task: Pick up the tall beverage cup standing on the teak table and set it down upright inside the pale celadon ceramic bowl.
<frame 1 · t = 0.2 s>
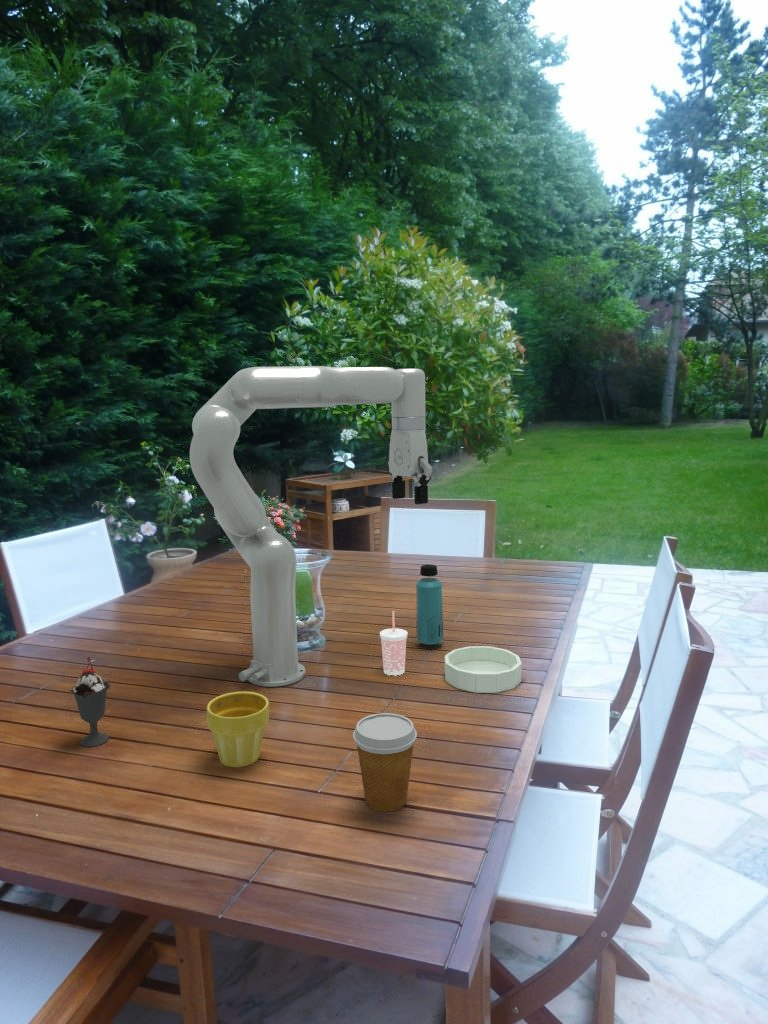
hand: (409, 500, 161), 36 cm above the table, tool pointing down, fingers open, 9 cm apart
beverage bottle: (429, 646, 172), on the table
sundae: (94, 741, 128), on the table
bowl: (482, 677, 153), on the table
beverage cup: (394, 672, 157), on the table
disposable coffee cup: (386, 801, 108), on the table
plant pot: (240, 758, 121), on the table
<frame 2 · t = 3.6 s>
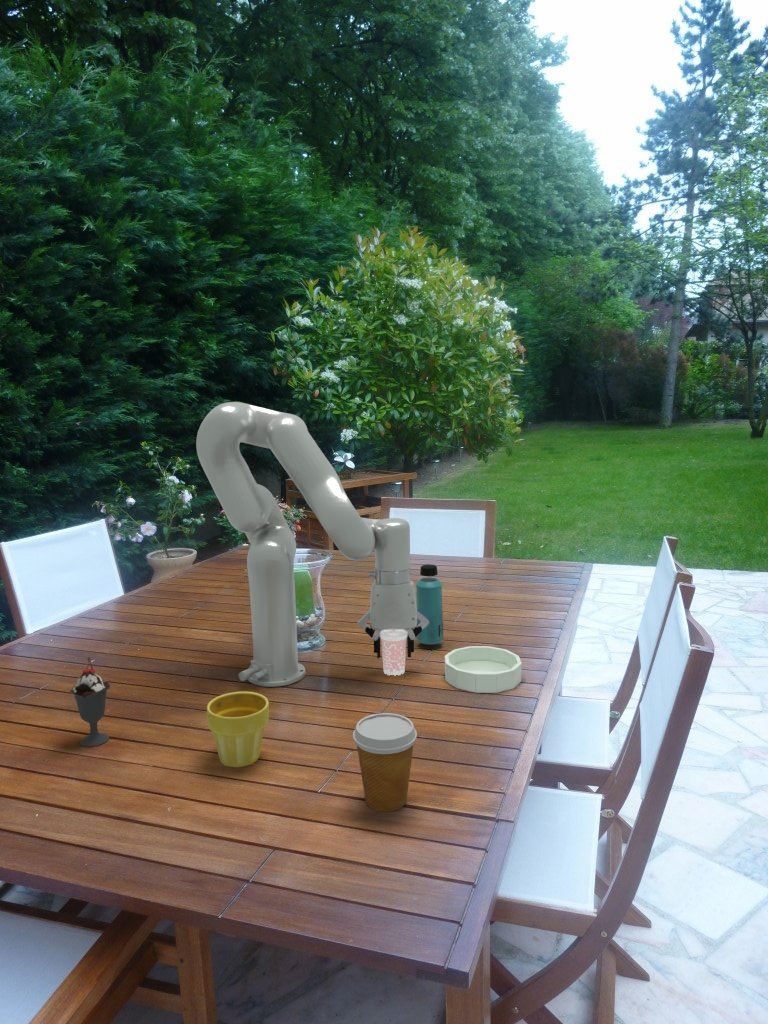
hand: (393, 654, 156), 4 cm above the table, tool pointing down, fingers closed on beverage cup, 6 cm apart
beverage cup: (394, 672, 157), on the table, touching gripper
everything else where it was.
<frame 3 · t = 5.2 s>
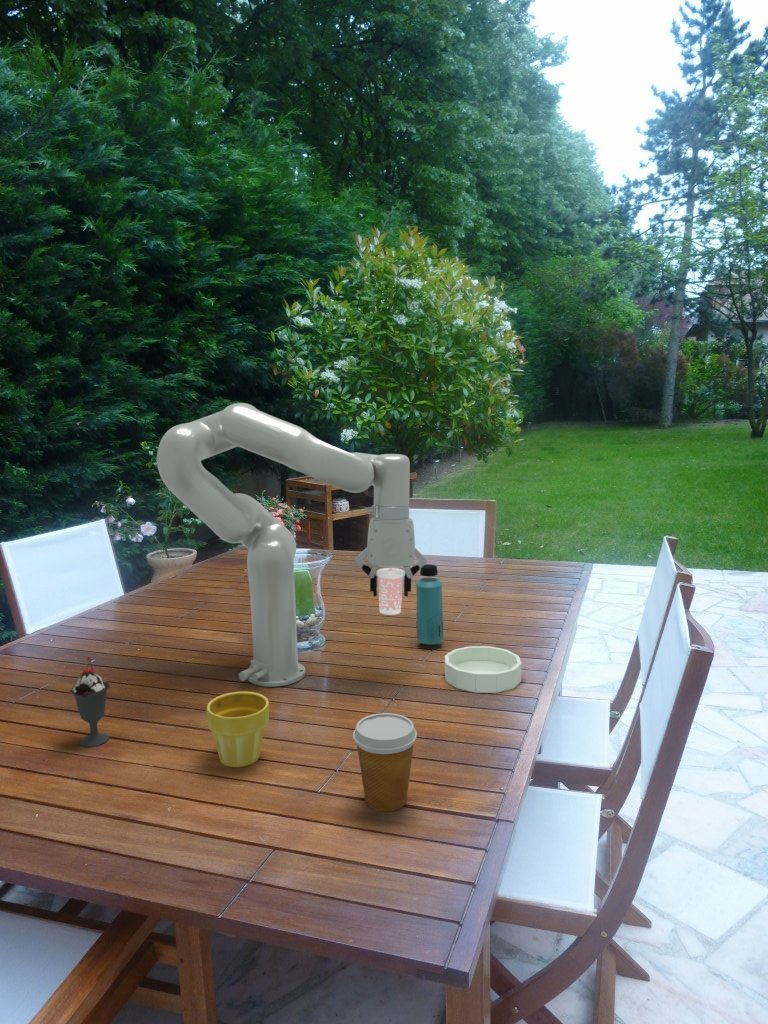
hand: (390, 593, 154), 18 cm above the table, tool pointing down, fingers closed on beverage cup, 6 cm apart
beverage cup: (390, 612, 154), point 14 cm above the table, touching gripper
everything else where it was.
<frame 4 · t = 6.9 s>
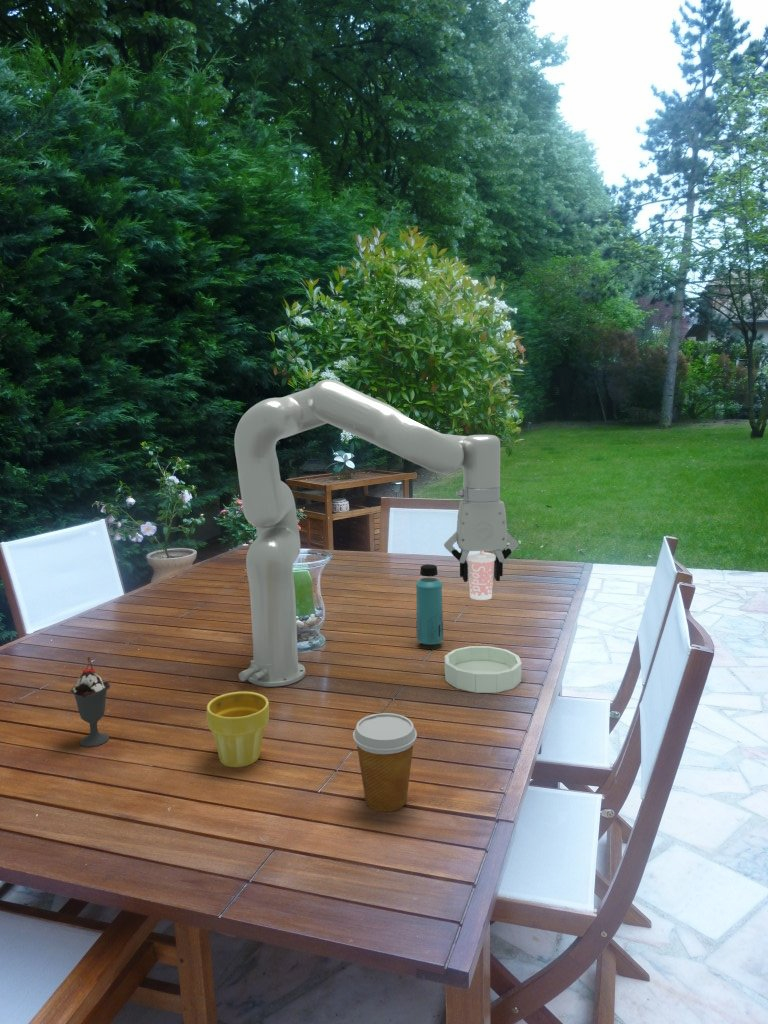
hand: (481, 579, 149), 22 cm above the table, tool pointing down, fingers closed on beverage cup, 6 cm apart
beverage cup: (480, 597, 150), point 18 cm above the table, touching gripper
everything else where it was.
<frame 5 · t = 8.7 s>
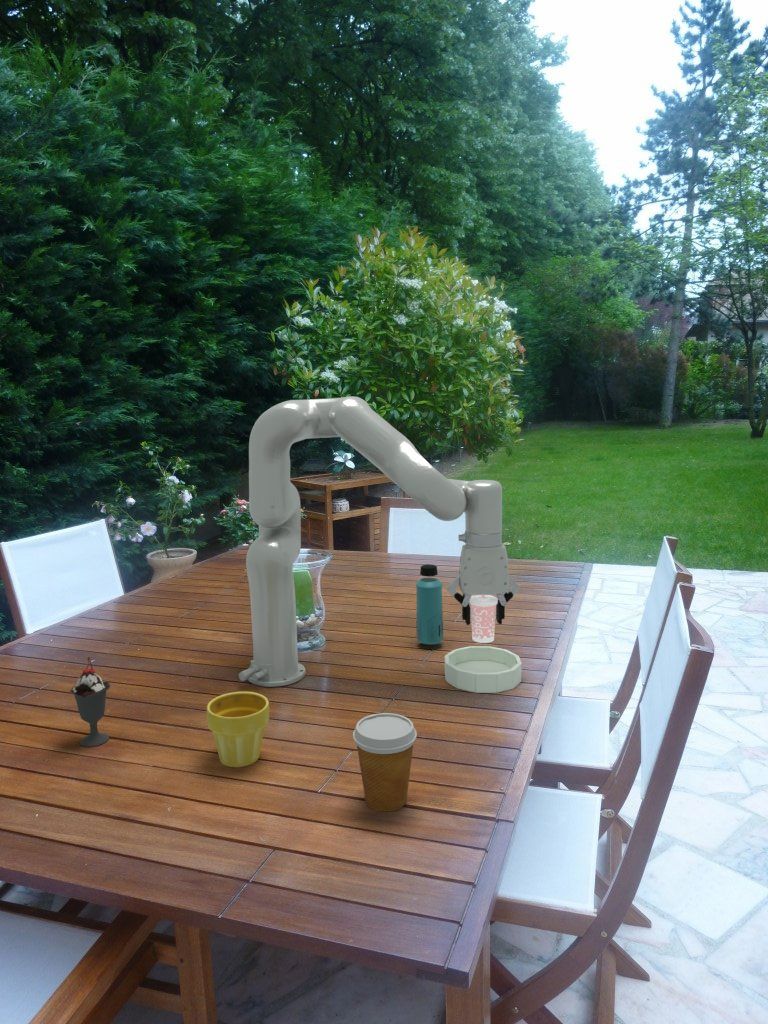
hand: (483, 621, 151), 12 cm above the table, tool pointing down, fingers closed on beverage cup, 6 cm apart
beverage cup: (483, 640, 151), point 8 cm above the table, touching gripper
everything else where it was.
when the fingers open (6 cm above the table, at t = 10.4 s): beverage cup drops 1 cm, resting on bowl.
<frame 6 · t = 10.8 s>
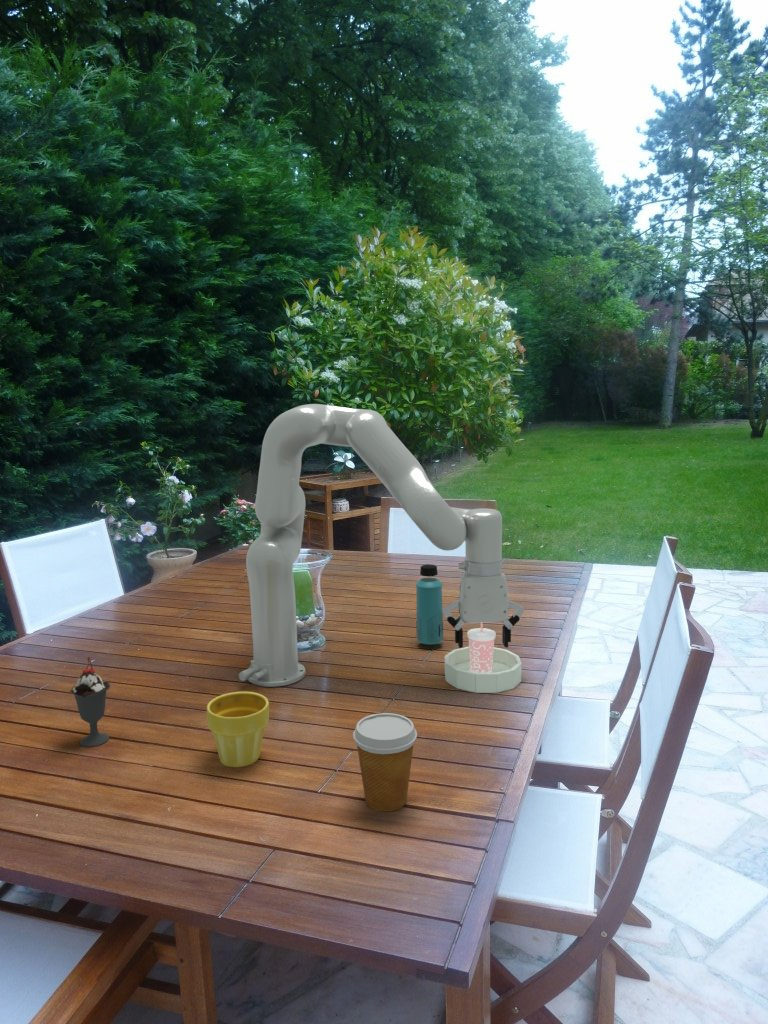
hand: (482, 645, 152), 7 cm above the table, tool pointing down, fingers open, 9 cm apart
beverage cup: (481, 673, 153), point 1 cm above the table, touching bowl
everything else where it was.
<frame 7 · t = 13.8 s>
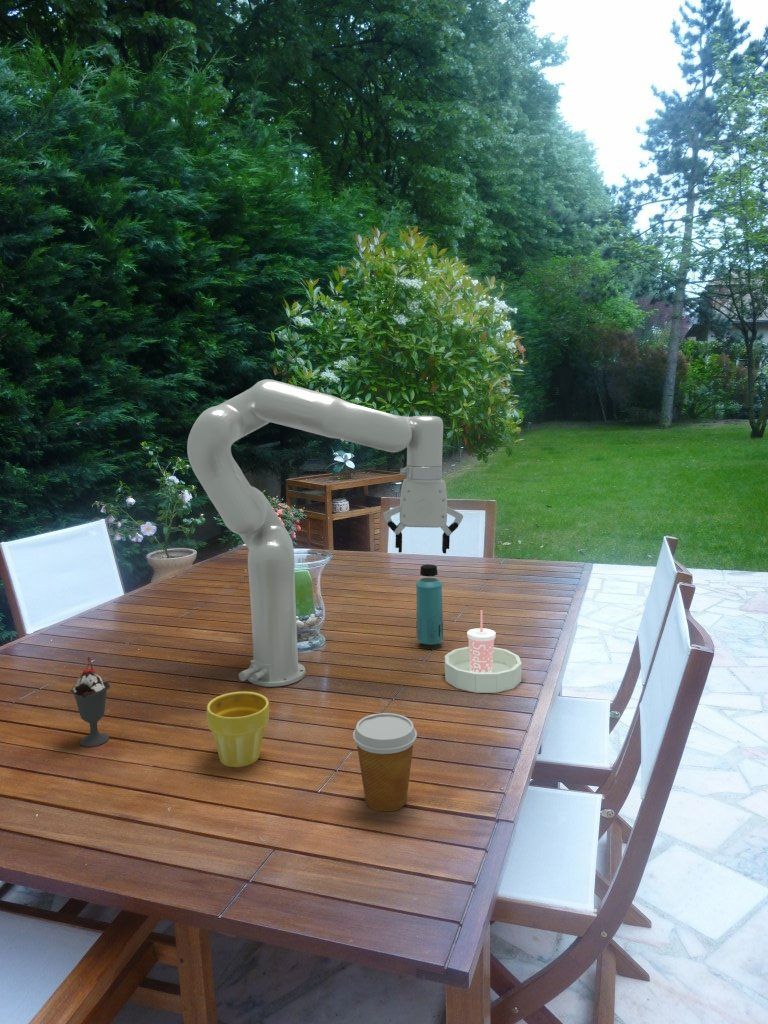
hand: (422, 551, 155), 26 cm above the table, tool pointing down, fingers open, 9 cm apart
nothing on the table moved.
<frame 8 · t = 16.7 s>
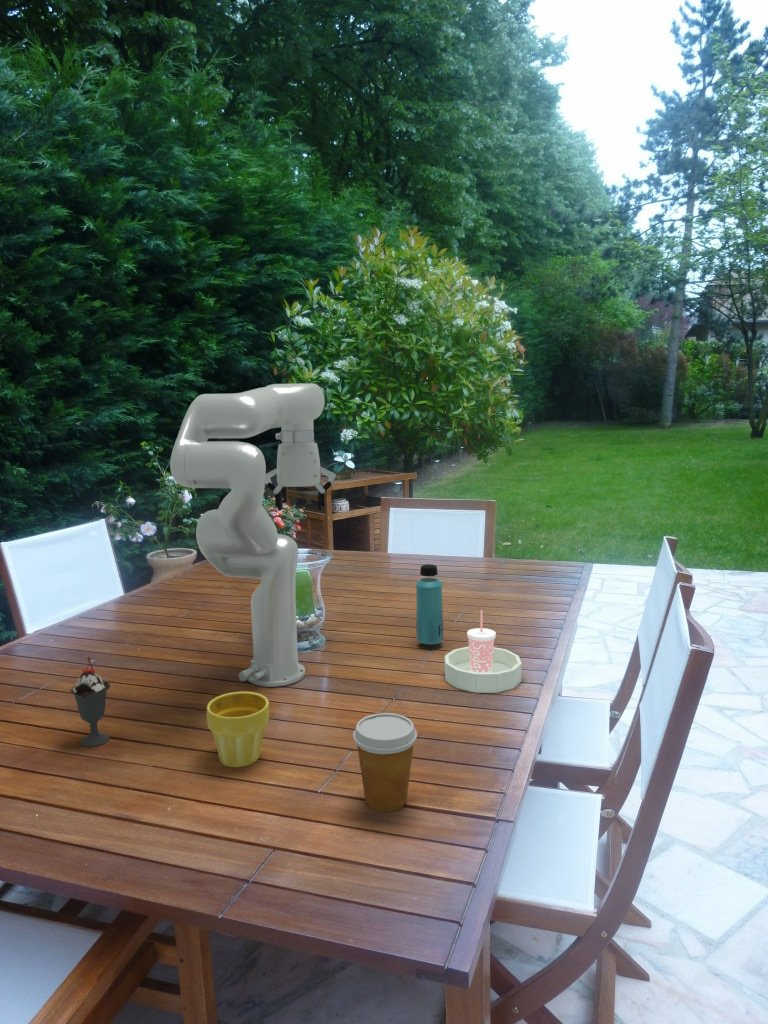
hand: (300, 509, 171), 33 cm above the table, tool pointing down, fingers open, 9 cm apart
nothing on the table moved.
at the end: beverage cup inside the target area on the bowl (0.3 cm from its centre), point 0.8 cm above the bowl's base; beverage cup tilted 0°; the gripper is holding nothing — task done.
